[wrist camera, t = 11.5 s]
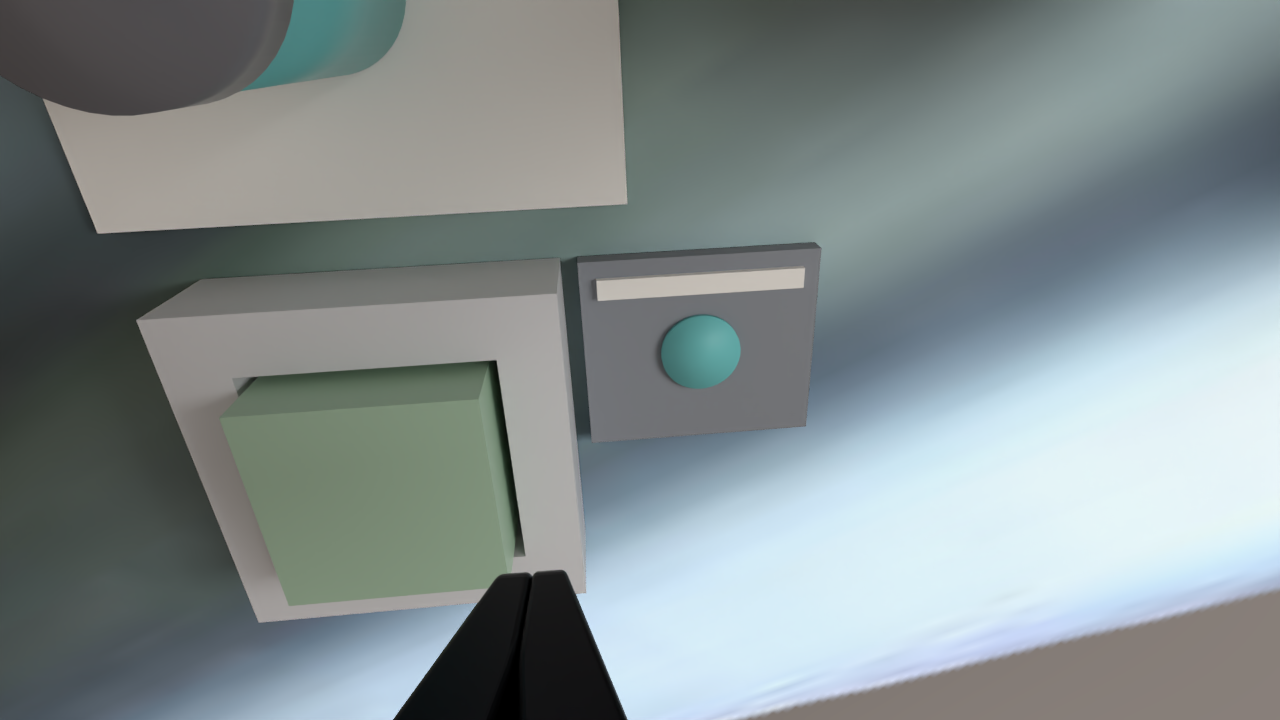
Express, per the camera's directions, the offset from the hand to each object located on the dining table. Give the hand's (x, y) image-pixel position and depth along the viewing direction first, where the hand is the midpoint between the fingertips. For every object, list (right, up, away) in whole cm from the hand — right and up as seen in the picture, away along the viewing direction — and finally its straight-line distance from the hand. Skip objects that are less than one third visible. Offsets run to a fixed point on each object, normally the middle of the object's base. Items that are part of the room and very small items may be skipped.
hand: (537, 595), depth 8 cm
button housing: (-6, +1, +13) cm, 14 cm away
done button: (-6, +1, +12) cm, 13 cm away
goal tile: (+3, +3, +12) cm, 13 cm away
